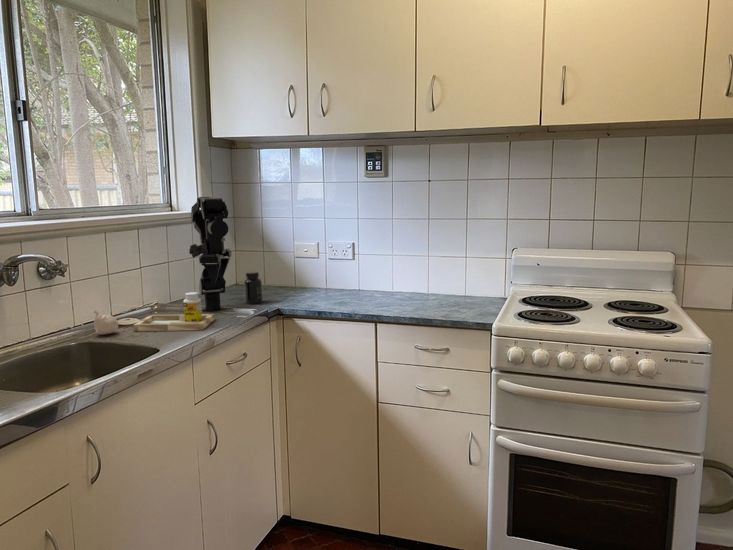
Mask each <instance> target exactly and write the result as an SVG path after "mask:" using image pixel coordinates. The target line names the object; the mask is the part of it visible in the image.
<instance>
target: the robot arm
mask: <svg viewBox="0 0 733 550" xmlns="http://www.w3.org/2000/svg"><path fill="white" fill-rule="evenodd" d="M228 216H229V211H228V206H227V204H226V202H225V201H224V200H223V198H221V197H219V198H218V197H217V198H216V197H215V198H214V197H210V196H199V197H197V198H196V202H195V203H194V204H193V205H192V206H191V210H190V219H191V221H190V222H191V223H193V229H195V230H196V231H197V233H198V234H199V240H200V241H199V243H200V245H198V244H197V243H194V244H192V245H189V249H188V251H189V252H188V254H190V255H191V257H192V258H193V259H194V258H196V257H198V259H199V260H198V261H199V264H200V265H201V266H203V270H202V272H201V275H200V278H199V283H198V289H199V292H198V293H199V294H200V295H201V296H203V298H204V307H203V308H201V309H202V312H214V311H215V312H219V311H221V310H222V309H223V308H225V307H224V305H221V303H222V302H221V294H225V293H226V281H227V279H225V277H224V275H225V273H226V270H227V268H228V266H229V263H230V260H231V257H232V251H231V249H229V248H225V241H226V235H228V233H229V226H228V224H227V222H226V221H224V219H228Z"/></svg>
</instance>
